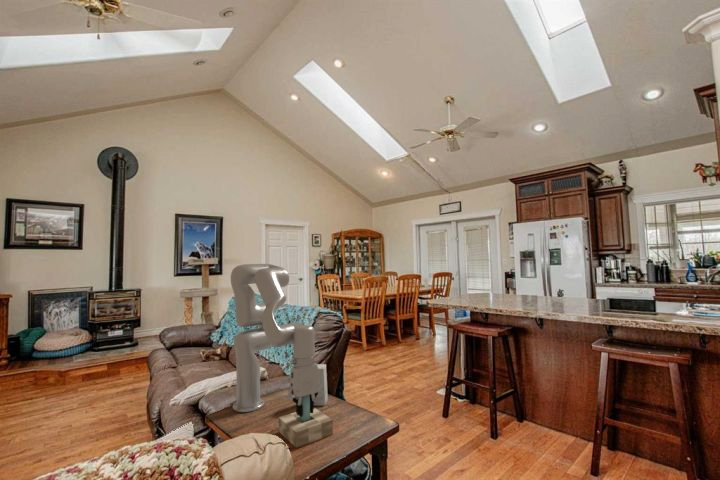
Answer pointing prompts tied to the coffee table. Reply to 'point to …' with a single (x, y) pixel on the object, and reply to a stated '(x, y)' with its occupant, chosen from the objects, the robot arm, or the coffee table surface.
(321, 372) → the skincare box
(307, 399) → the peg
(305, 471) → the coffee table surface
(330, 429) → the socket block
